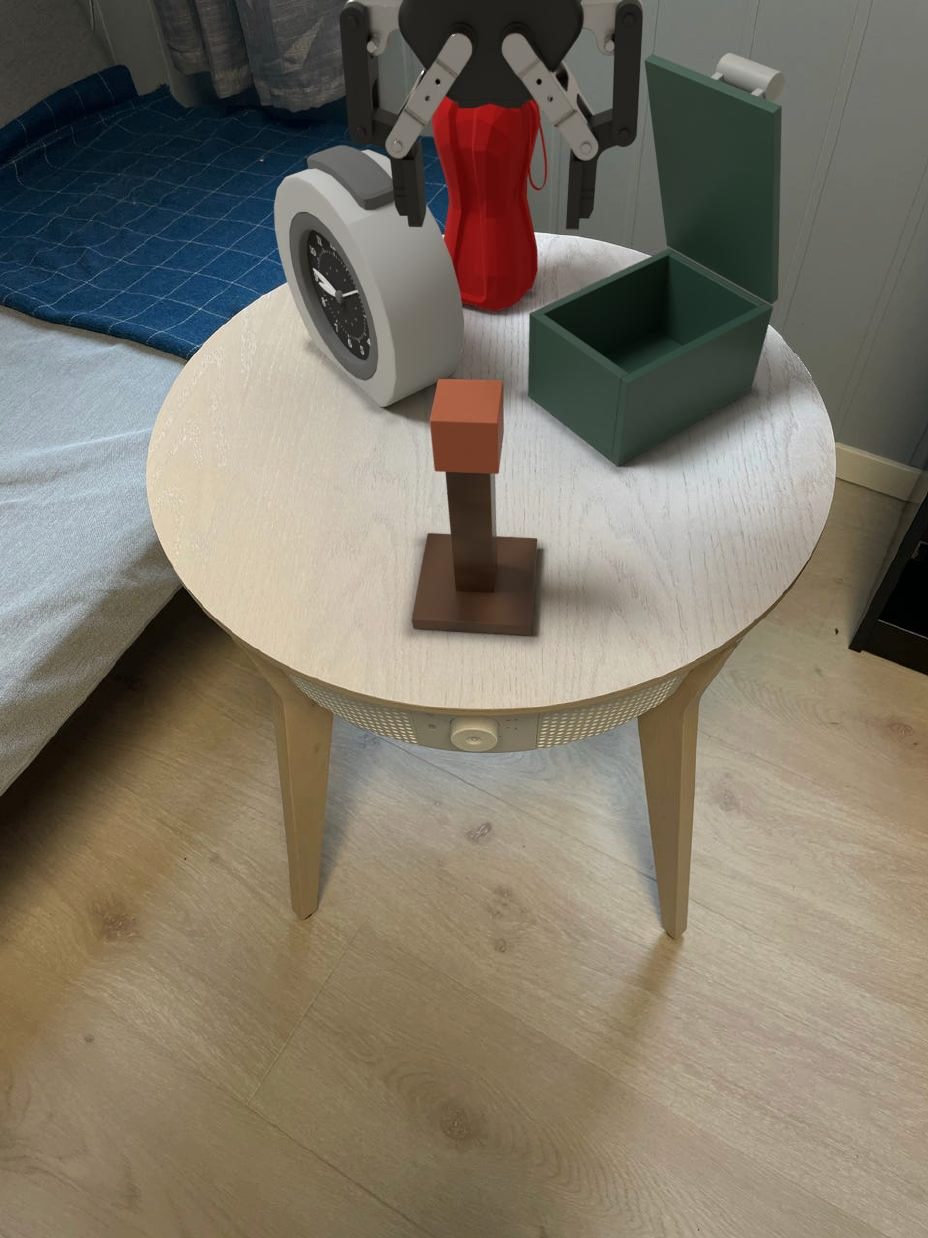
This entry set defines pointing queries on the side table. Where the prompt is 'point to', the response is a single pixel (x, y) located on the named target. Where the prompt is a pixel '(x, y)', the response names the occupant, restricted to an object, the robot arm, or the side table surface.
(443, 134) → the water bottle
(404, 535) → the side table surface
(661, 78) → the bin lid
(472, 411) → the block
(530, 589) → the stand
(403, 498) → the side table surface
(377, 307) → the alarm clock
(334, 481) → the side table surface
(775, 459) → the side table surface
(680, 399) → the bin
